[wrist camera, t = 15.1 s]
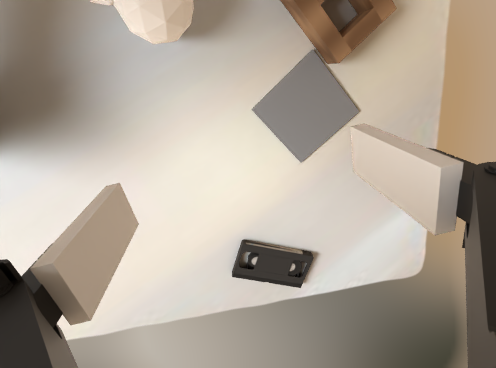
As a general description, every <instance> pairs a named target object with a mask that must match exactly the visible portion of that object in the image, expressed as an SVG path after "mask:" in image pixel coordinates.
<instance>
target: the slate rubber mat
mask: <svg viewBox="0 0 496 368" xmlns="http://www.w3.org/2000/svg"><path fill="white" fill-rule="evenodd" d="M252 110H253V111H254V112H255V114H256V115H257V116H258V117H259V118H260V119H261V120H262V121H263V122H264V123H265V124H266V125H267V127H268V128H269V129H270V130H271V131H272V132H273V133H274V134H275V135H276V136H277V137H278V138H279V140H280V141H281V142H282V143H283V144H284V145H285V146H286V147H287V148H288V149H289V150H290V151H291V153H292V154H293V155H294V156H295V157H296V158H297V159H298V160H299V161H300V162H302V161H304V160H305V159H306V158H307V157H308V156H309V155H310V154H312V153H313V152H314V151H315V150H316V149H317V148H318V147H320V146H321V145H322V144H323V143H324V142H325V141H326V140H328V139H329V138H330V137H331V136H332V135H333V134H334V133H336V132H337V131H338V130H339V129H340V128H341V127H342V126H343V125H345V124H346V123H347V122H348V121H349V120H350V119H351V118H353V117H354V116H355V115H356V114H357V113H358V112H359V110H358V109H357V108H356V106H355V105H354V104H353V102H352V101H351V100H350V98H349V97H348V96H347V94H346V93H345V92H344V90H343V89H342V87H341V86H340V85H339V83H338V82H337V81H336V79H335V78H334V77H333V75H332V74H331V73H330V71H329V70H328V69H327V67H326V66H325V65H324V63H323V62H322V61H321V59H320V58H319V57H318V55H317V54H316V53H315V51H314V50H312V51H311V52H310V53H309V54H308V55H306V56H305V57H304V58H303V59H302V60H301V61H300V62H299V63H298V64H297V65H296V66H295V67H294V68H293V69H292V70H291V71H290V72H289V73H288V74H287V75H286V76H285V77H284V78H283V79H282V80H281V81H280V82H279V83H278V84H277V85H276V86H275V87H274V88H273V89H272V90H271V91H270V92H269V93H268V94H267V95H266V96H265V97H264V98H263V99H262V100H261V101H260V102H259V103H258V104H257V105H256V106H255V107H254V108H253V109H252Z"/></svg>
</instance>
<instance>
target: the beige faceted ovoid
mask: <svg viewBox="0 0 496 368" xmlns="http://www.w3.org/2000/svg"><path fill="white" fill-rule="evenodd" d="M90 2H92V3H98V4H103V5H109V6H111V5H114V6H115V7H116V9H117V11H118V12H119V14H120V16H121V17H122V19H123V20H124V22H125V24H126V25H127V27H128V29H129V30H130V32H132V33H134V34H136V35H138V36H140V37H141V38H143V39H145V40H147V41H149V42H151V43H152V44H160V43H167V42H174V41H177V40H178V39H179V38H180V36H181V35H182V34H183V33H184V32H185V30H186V29H187V28H188V27H189V26H190V24H191V22H192V16H193V10H194V4H193V0H90Z"/></svg>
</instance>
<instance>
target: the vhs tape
mask: <svg viewBox="0 0 496 368" xmlns="http://www.w3.org/2000/svg"><path fill="white" fill-rule="evenodd" d="M244 252H251V253H250V254H249V256H248V262H249V265H250V266H252V267H254V269H253V270H252V269H248V263H247V269H246V268H241V267H239V260H240V257H241V256H242V254H243V253H244ZM300 261H303V262H306V263H307V265H306V267H305V269H304V272H303V274H302V276H301V277H298V275H299V272H300V270H301V267H302V265H301V262H300ZM312 261H313V255H312V253H311V252H309V251H304V250H298V249H293V248H287V247H282V246H276V245H271V244H266V243H260V242H255V241H249V240H242V242H241V245H240V248H239V251H238V254H237V258H236V261H235V264H234V267H233V271H232V277H236V278H243V279H249V280H255V281H261V282H269V283H274V284H280V285H286V286H292V287H298V288H301V286H302V284H303V280H304V279H305V277H306V274H307V272H308V270H309V267H310V265H311V263H312ZM294 275H295V277H293V276H294Z"/></svg>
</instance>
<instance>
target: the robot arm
mask: <svg viewBox="0 0 496 368" xmlns="http://www.w3.org/2000/svg"><path fill="white" fill-rule="evenodd" d="M351 144H352V161H353V172H354V173H355V174H357V175H358V176H359V177H361V178H362V179H363V180H364V181H366V182H367V183H368V184H370V185H371V186H372V187H373V188H375V189H376V190H377V191H379V192H380V193H381V194H382V195H384V196H385V197H386V198H388V199H389V200H390V201H391V202H393V203H394V204H395V205H397V206H398V207H399V208H400V209H402V210H403V211H404V212H406V213H407V214H408V215H409V216H411V217H412V218H413V219H415V220H416V221H417V222H418V223H420V224H421V225H422V226H424V227H425V228H426V229H427V230H429V231H430V232H431V233H433V234H434V235H439V234H443V233H447V232H451V231H455V226H456V218H457V217H459V218H461V219H462V220H464V221H466V225H465V232H464V239H463V246H462V248H465V263H466V264H465V265H466V303H467V304H466V306H467V347H468V368H496V162H487V163H482V164H478V165H476V164H474V163H471V162H468V161H466V160H463V159H460V158H458V157H454V156H452V155H449V154H446V153H444V152H442V151H439V150H437V149H431V148H425V147H423V146H420V145H418V144H415V143H413V142H410V141H407V140H405V139H402V138H400V137H397V136H395V135H392V134H390V133H387V132H384V131H382V130H379V129H377V128H374V127H372V126H369V125H367V124H360V125H355V126H351ZM138 225H139V224H138V221H137V219H136V217H135V215H134V213H133V211H132V208H131V206H130V204H129V202H128V200H127V198H126V195H125V193H124V191H123V189H122V187H121V185H120V183H117V184H113V185H109V186H106V187H105V188H104V189H103V190H102V191H101V192H100V193H99V194H98V195H97V197H96V198H95V199H94V200H93V201H92V202H91V203H90V204H89V205H88V206H87V207H86V208H85V209H84V211H83V212H82V213H81V214H80V215H79V216H78V217H77V218H76V219H75V220H74V221H73V222H72V224H71V225H70V226H69V227H68V228H67V229H66V230H65V231H64V232H63V233H62V234H61V235H60V236H59V238H58V239H57V240H56V241H55V242H54V243H53V244H51V245H50V246H49V247H48V248H47V250H46V251H45V252H44V254H42V255H41V256H40V257H39V258H38V260H37V261H35V262H34V263H33V265H32V266H31V267H30V268H29V269H28V270H27V271H26V272H25V273H24V274H23V275H22V276H20V274H19V273H18V272H17V270H16V269H15V268H14V266H13V265H12V264H11V262H10V261H9V260H7V259H6V260H0V368H78V367H77V364H76V362H75V360H74V357H73V355H72V353H71V351H70V348H69V346H68V344H67V341H66V339H65V337H64V334H63V332H62V330H61V329H60V327H59V326H58V325H57V322H58V320H59V319H60V317H61V316H62V314H63V316H64V317H65V318H66V320H67V321H68V322H69V324H70V325H74V324H78V323H82V322H86V321H90V320H91V319H92V317H93V315H94V313H95V311H96V309H97V307H98V305H99V303H100V301H101V299H102V297H103V295H104V293H105V291H106V289H107V287H108V285H109V283H110V281H111V279H112V277H113V275H114V273H115V271H116V269H117V267H118V265H119V263H120V261H121V259H122V257H123V255H124V253H125V251H126V249H127V247H128V245H129V243H130V241H131V239H132V237H133V235H134V233H135V231H136V229H137V227H138Z"/></svg>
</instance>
